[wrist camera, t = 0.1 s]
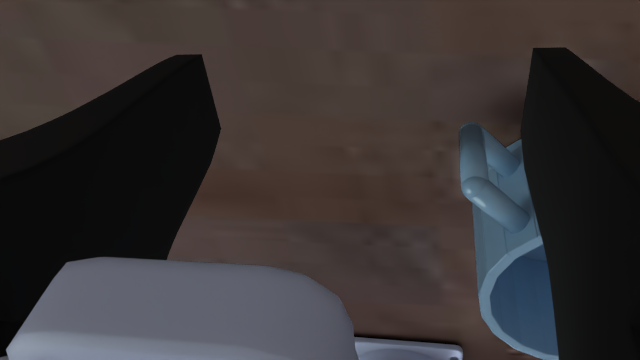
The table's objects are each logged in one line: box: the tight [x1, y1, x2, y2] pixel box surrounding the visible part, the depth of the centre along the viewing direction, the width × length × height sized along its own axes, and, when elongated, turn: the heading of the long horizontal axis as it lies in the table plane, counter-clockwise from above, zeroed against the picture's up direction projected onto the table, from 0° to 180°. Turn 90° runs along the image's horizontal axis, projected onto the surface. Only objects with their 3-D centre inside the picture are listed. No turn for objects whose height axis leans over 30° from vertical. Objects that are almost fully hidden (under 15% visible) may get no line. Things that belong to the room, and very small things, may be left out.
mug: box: [459, 122, 559, 360], centre depth 23 cm, size 11×8×6 cm
